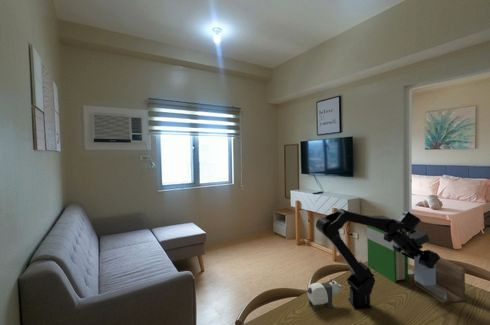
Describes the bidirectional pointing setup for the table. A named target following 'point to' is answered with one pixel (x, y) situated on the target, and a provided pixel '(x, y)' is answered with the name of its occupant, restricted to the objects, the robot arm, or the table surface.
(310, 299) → the giant panda
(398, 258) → the hardback book
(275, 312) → the table surface
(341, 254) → the robot arm
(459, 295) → the wooden display stand
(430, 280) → the blue-grey rectangular block
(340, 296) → the table surface
